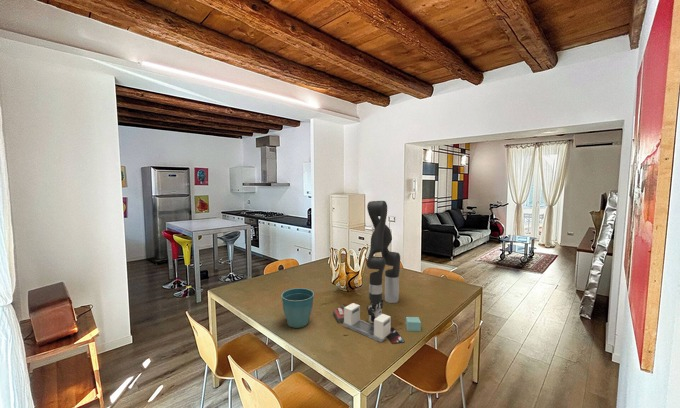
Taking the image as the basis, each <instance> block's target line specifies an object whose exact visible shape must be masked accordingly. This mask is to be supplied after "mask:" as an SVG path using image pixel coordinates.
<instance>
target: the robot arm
mask: <svg viewBox="0 0 680 408" xmlns="http://www.w3.org/2000/svg"><path fill="white" fill-rule="evenodd" d="M366 208H367V213H368V216H369V218H370V221H371V223H372V225H373V228H374V230H373V231H372V234H371V236H370V248H369V253H368V256H367V259H366V263H365V265H366V266H367V269H369V270H377V271H372V272H371V273H370V274H369V285H368V299H369V301H370V302H369V303H370V304H369V305H368V306H366V310H367V314H368V316H369V315H370V316H371V321H372V322H374V319H375V312H376V311H377V308H379V309H382V310H383V306H384V302H386V303H388V304H396V303H398V302H399V300H400V286H399V285H400V269H401V255H400V253H399V252H396V251H390V250H389V248H388V247H390V244H391V243H392V240H393V236H392V232H391V229H390V227H389V226H388V225H387V224H386V223H387V216H388V204H387V202H386V201H385V200H371V201H369V202H368V203H367V207H366ZM377 253H378V254H379V253H381V256H375V254H377ZM386 265H387V266H390V267H392V268H388V269H386V270H385V267H386ZM384 270H385V272H384ZM383 273H384V274H383ZM383 275H384V299H383ZM372 309H375V310H372ZM373 312H374V313H373Z"/></svg>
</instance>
